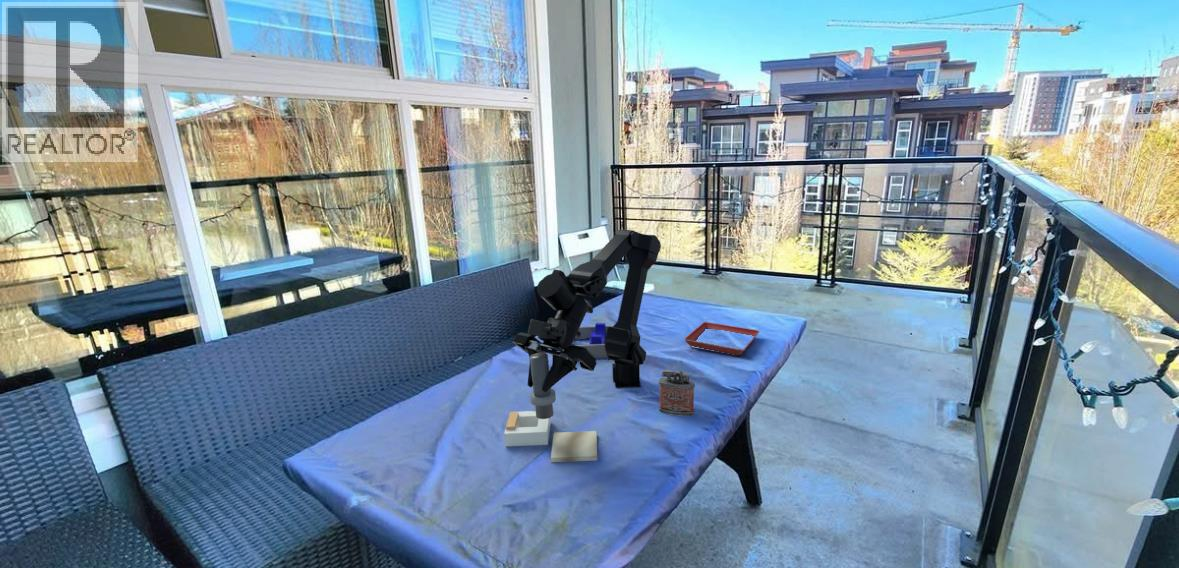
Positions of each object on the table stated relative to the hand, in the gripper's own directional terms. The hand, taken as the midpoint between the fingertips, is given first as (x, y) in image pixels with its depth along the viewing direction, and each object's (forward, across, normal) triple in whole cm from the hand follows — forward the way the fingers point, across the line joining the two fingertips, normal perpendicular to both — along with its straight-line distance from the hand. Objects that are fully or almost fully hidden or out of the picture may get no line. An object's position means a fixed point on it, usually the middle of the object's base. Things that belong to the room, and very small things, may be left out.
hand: (536, 388), depth 100 cm
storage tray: (-25, -23, +43) cm, 54 cm away
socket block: (+8, -5, +10) cm, 13 cm away
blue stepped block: (-26, -21, +44) cm, 55 cm away
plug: (+4, 0, +6) cm, 7 cm away
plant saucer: (-41, +10, +60) cm, 73 cm away
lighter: (-10, +18, +28) cm, 35 cm away
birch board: (+7, +7, +11) cm, 15 cm away
